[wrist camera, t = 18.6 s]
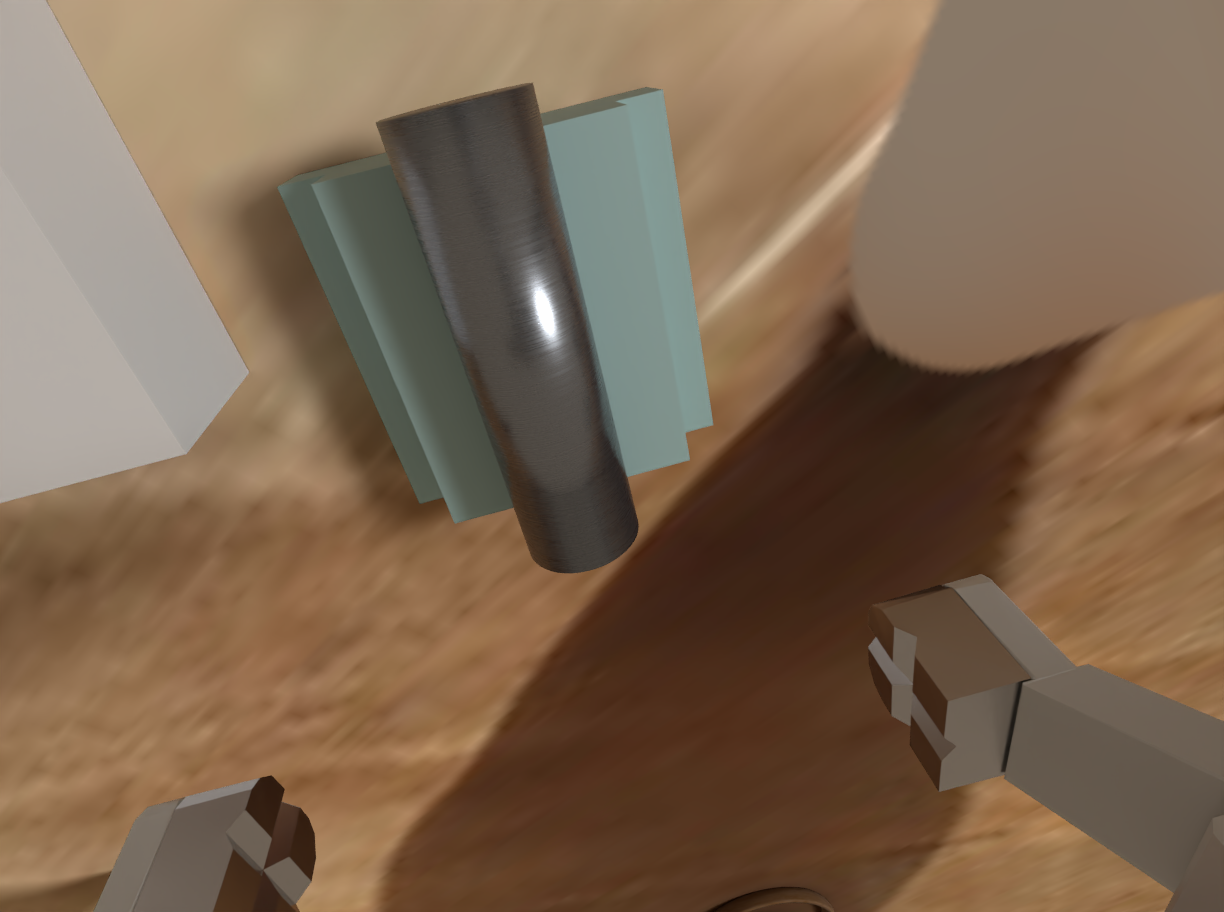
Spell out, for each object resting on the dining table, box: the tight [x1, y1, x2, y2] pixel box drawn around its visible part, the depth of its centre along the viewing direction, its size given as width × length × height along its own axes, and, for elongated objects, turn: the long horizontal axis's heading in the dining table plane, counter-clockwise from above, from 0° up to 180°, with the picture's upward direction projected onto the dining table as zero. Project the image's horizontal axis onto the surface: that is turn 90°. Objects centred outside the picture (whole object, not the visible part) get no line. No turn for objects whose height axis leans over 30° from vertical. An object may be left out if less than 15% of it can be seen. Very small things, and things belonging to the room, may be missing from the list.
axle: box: [376, 83, 639, 573], centre depth 20 cm, size 14×4×4 cm, turn 12°
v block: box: [277, 87, 713, 523], centre depth 24 cm, size 12×12×4 cm
